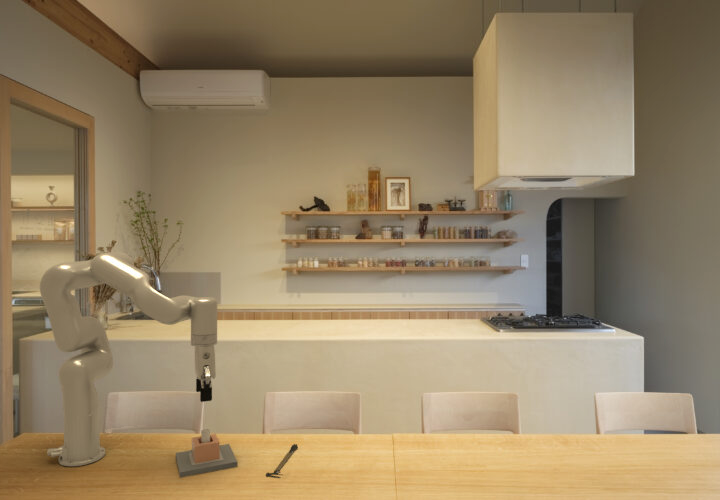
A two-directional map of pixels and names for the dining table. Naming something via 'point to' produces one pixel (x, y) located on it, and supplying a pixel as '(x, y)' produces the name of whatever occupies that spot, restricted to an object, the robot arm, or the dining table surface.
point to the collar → (205, 449)
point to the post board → (192, 468)
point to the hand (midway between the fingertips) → (203, 396)
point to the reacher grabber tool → (282, 462)
